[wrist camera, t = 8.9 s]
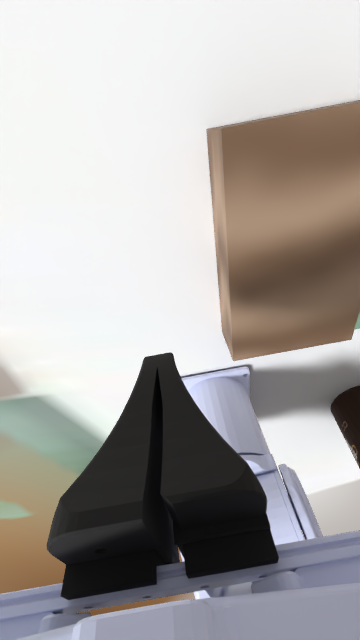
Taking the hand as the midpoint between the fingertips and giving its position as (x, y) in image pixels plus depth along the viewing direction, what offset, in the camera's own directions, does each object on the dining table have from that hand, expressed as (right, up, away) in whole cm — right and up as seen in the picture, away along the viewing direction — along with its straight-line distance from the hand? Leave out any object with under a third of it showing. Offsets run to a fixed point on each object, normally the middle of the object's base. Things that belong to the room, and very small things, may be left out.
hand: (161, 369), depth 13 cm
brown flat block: (+9, +9, +8) cm, 14 cm away
